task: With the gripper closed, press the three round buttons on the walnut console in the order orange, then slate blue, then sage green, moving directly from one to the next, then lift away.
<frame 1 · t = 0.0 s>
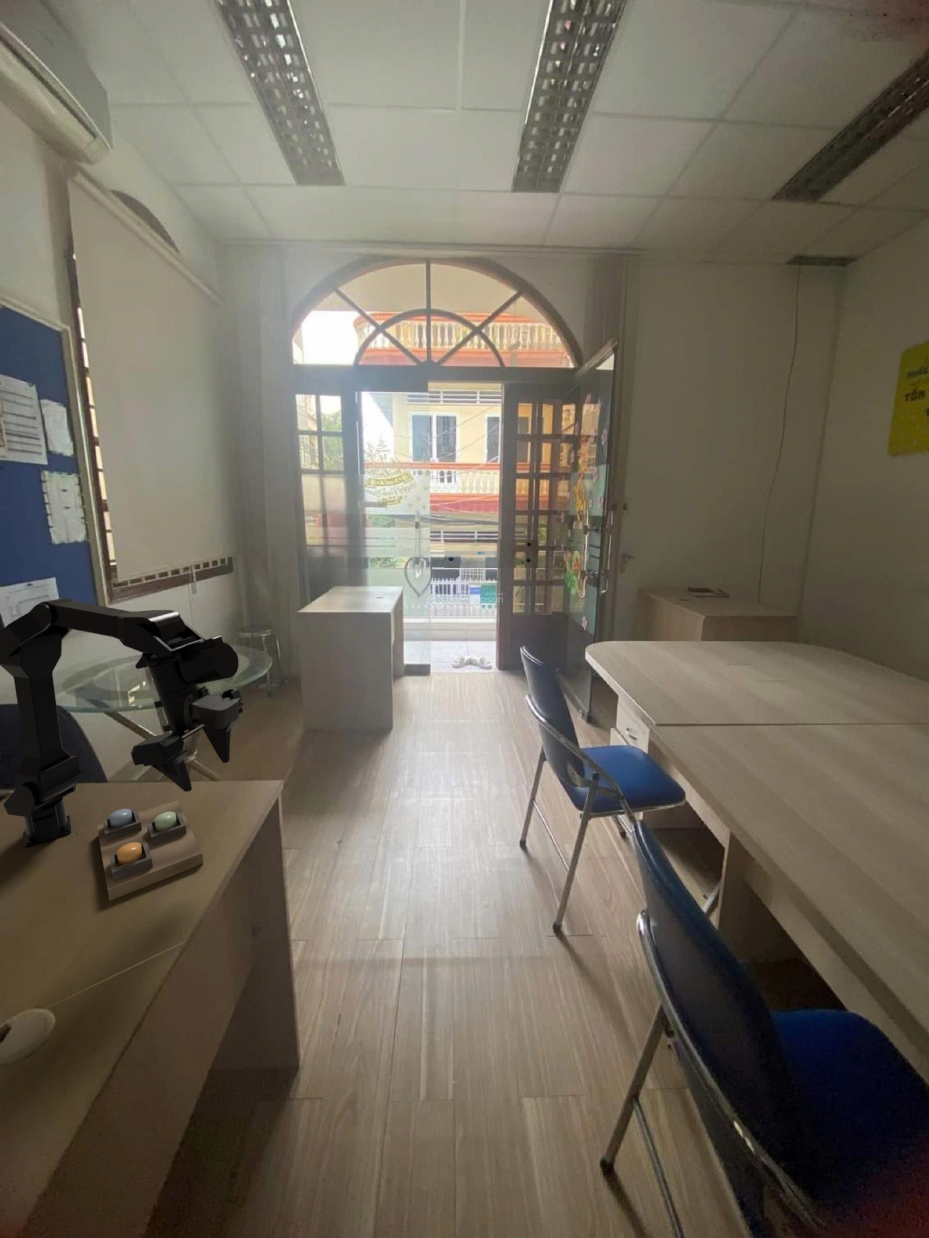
hand: (208, 775, 81), 15 cm above the table, tool pointing down, fingers open, 9 cm apart
slate blue button: (121, 817, 88), point 4 cm above the table, slide at 0.0 cm
orange button: (129, 853, 79), point 4 cm above the table, slide at 0.0 cm
sage button: (165, 821, 87), point 4 cm above the table, slide at 0.0 cm
console: (148, 848, 86), on the table
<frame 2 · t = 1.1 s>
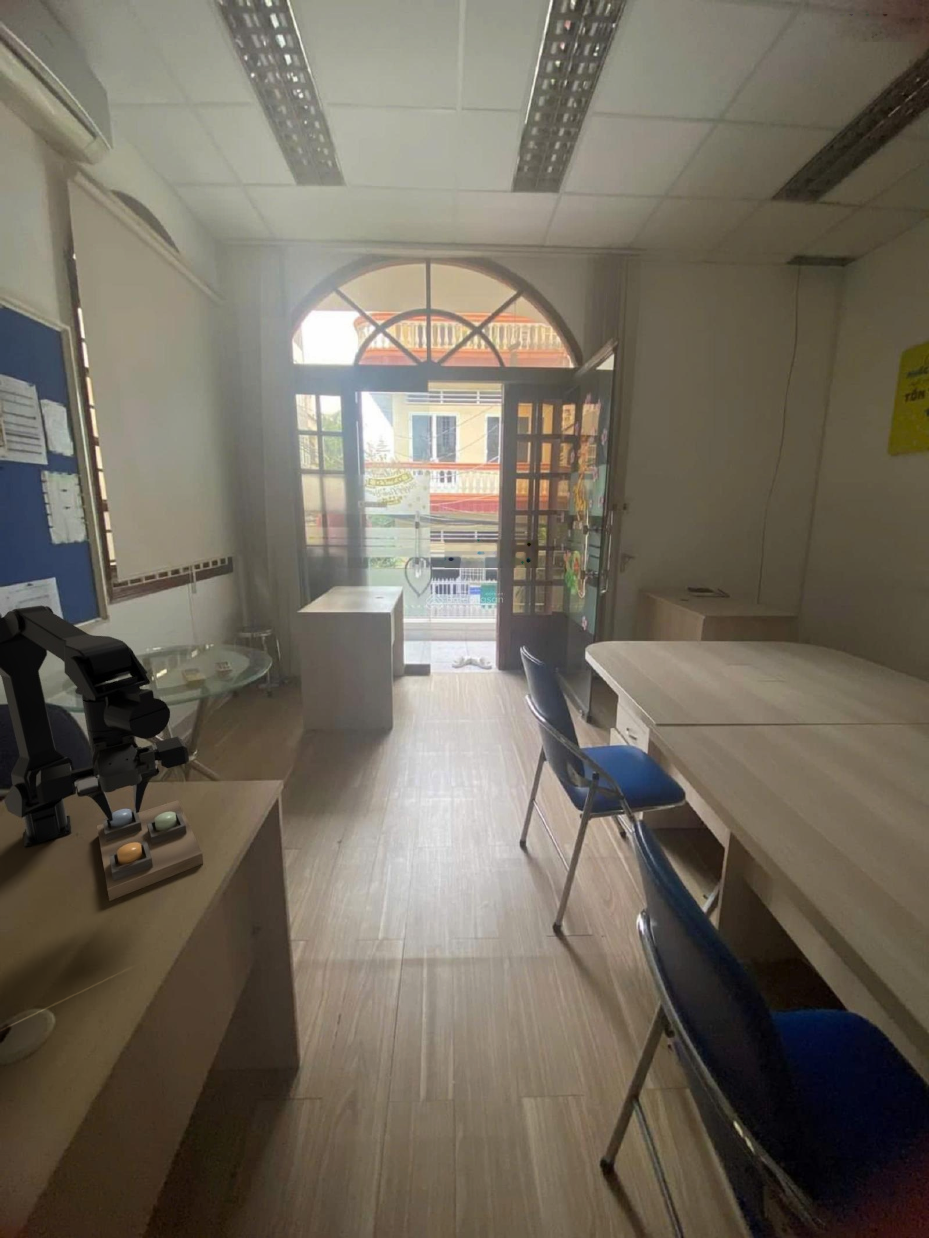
hand: (124, 815, 77), 11 cm above the table, tool pointing down, fingers open, 3 cm apart
nothing on the table moved.
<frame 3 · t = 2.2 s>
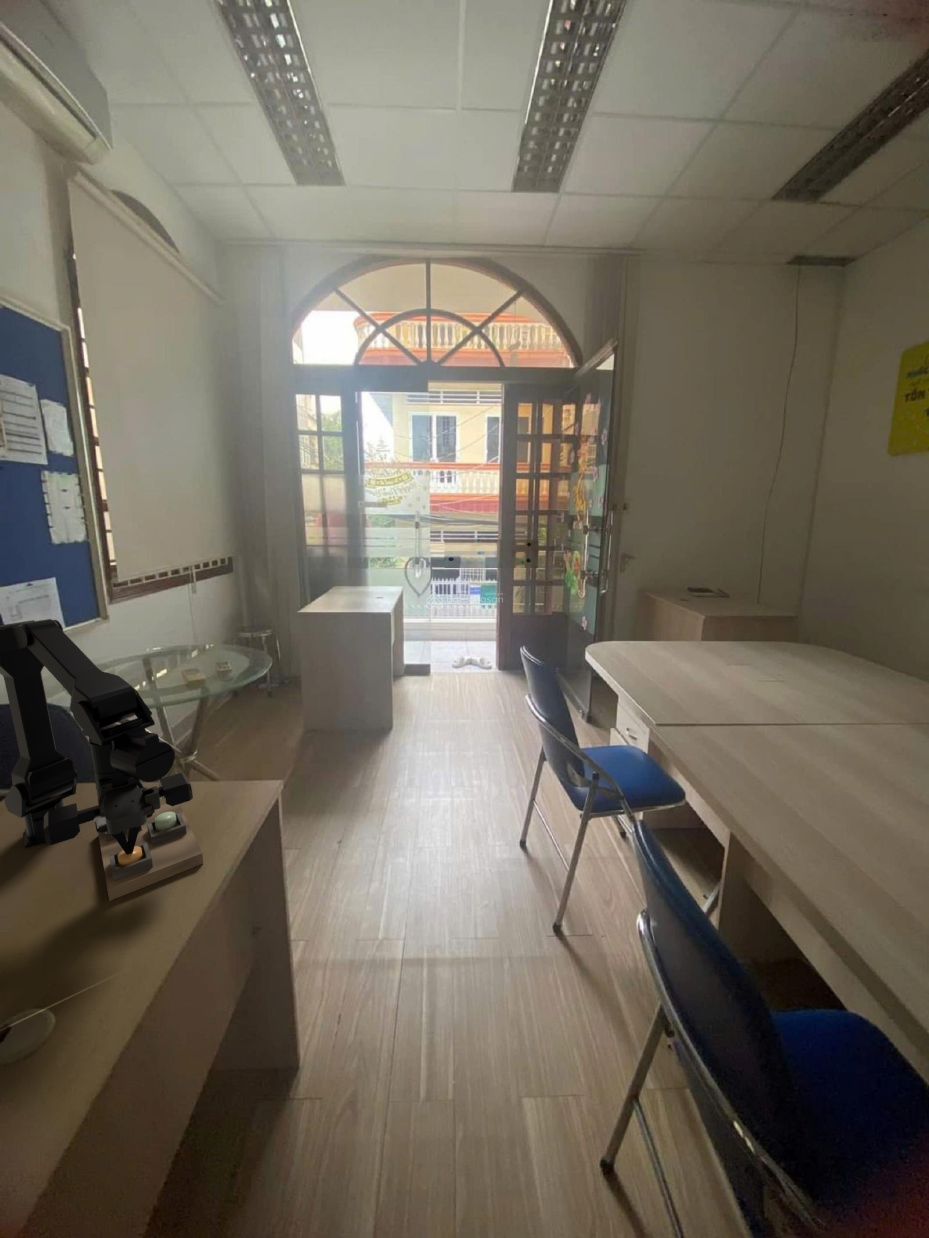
hand: (129, 852, 79), 4 cm above the table, tool pointing down, fingers closed, pressing on orange button
orange button: (130, 857, 79), point 3 cm above the table, slide at 0.7 cm, touching gripper
everything else where it was.
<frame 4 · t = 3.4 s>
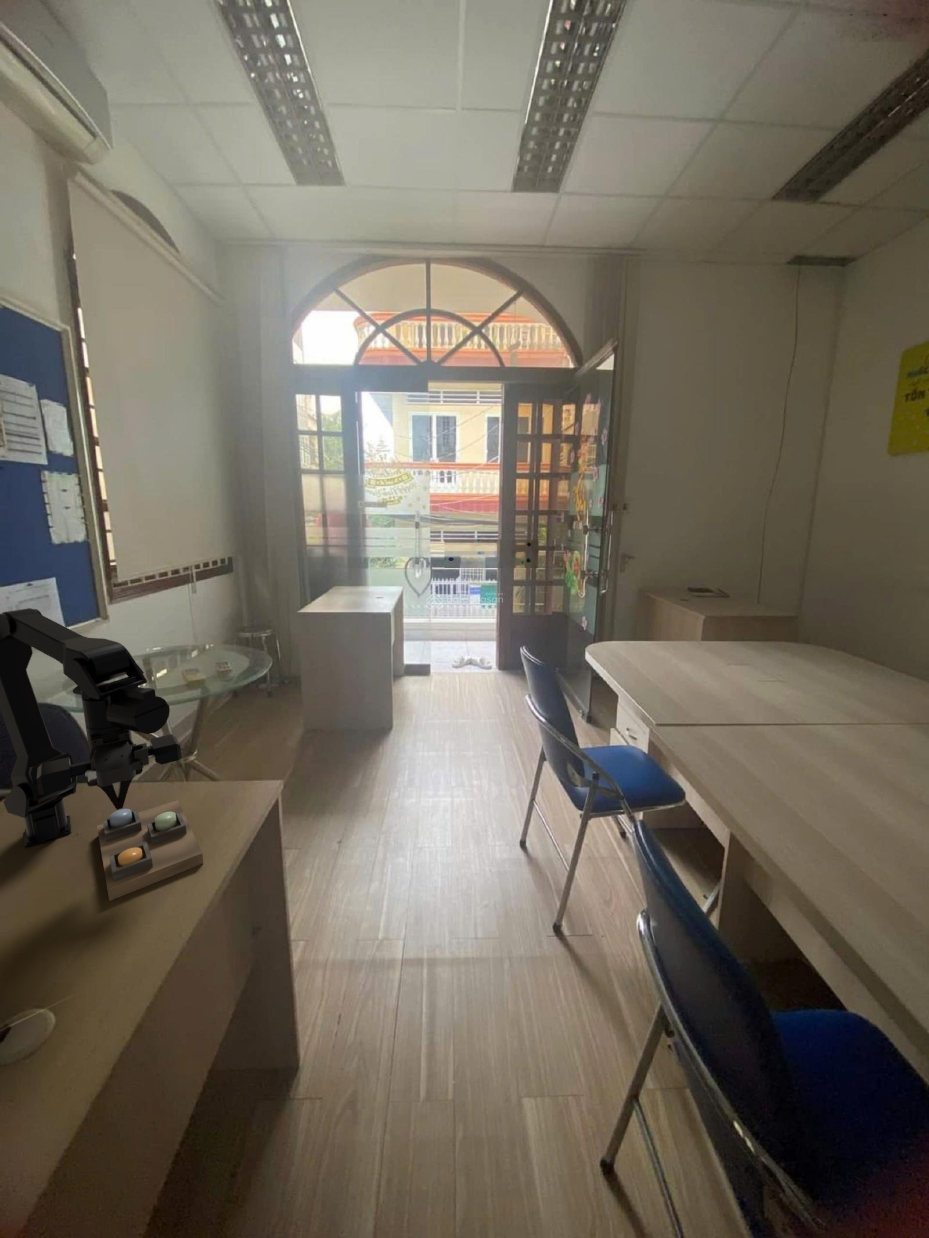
hand: (119, 808, 82), 10 cm above the table, tool pointing down, fingers closed
orange button: (130, 858, 79), point 3 cm above the table, slide at 0.9 cm
everything else where it was.
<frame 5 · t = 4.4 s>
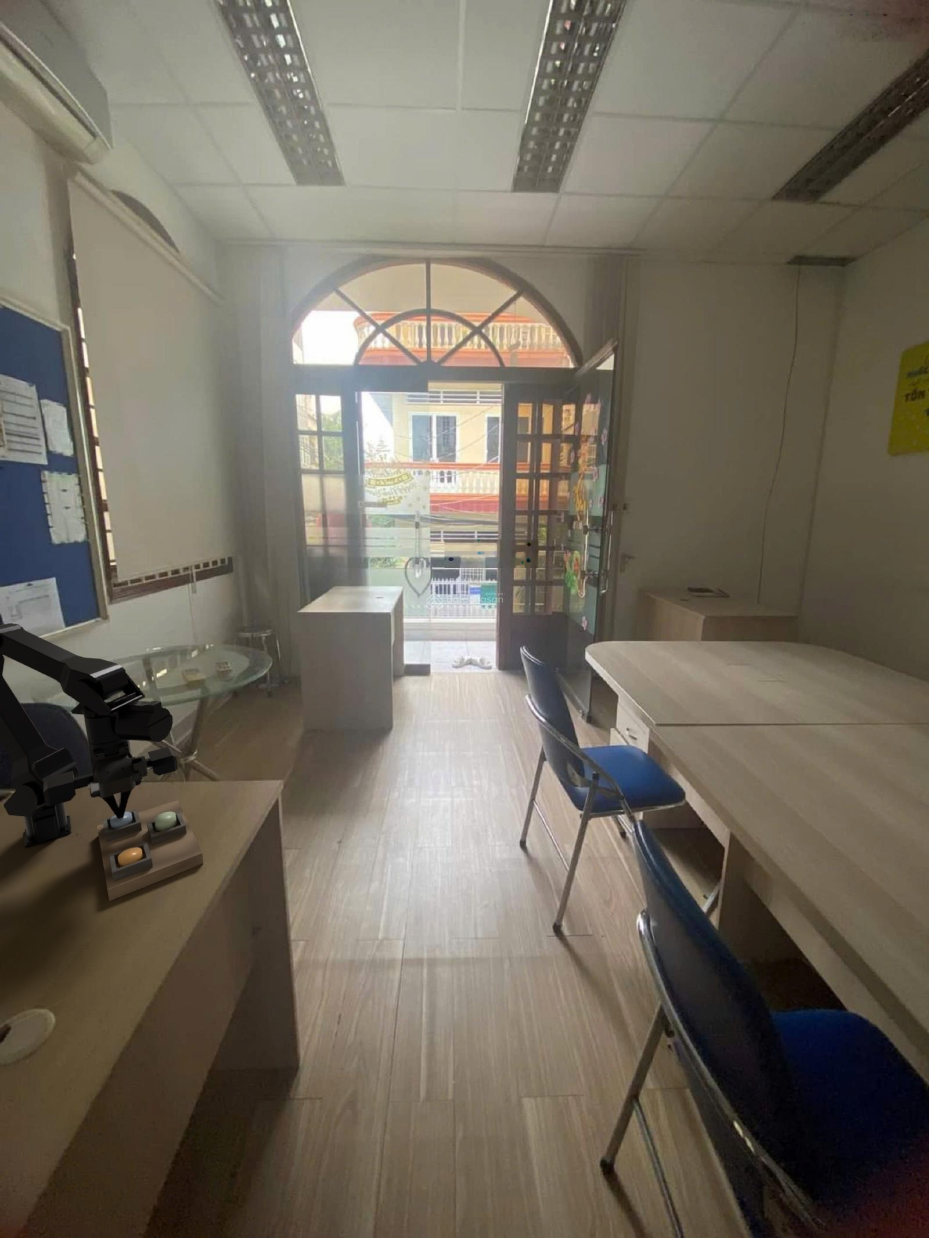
hand: (120, 817, 88), 4 cm above the table, tool pointing down, fingers closed, pressing on slate blue button
slate blue button: (121, 821, 88), point 4 cm above the table, slide at 0.6 cm, touching gripper
everything else where it was.
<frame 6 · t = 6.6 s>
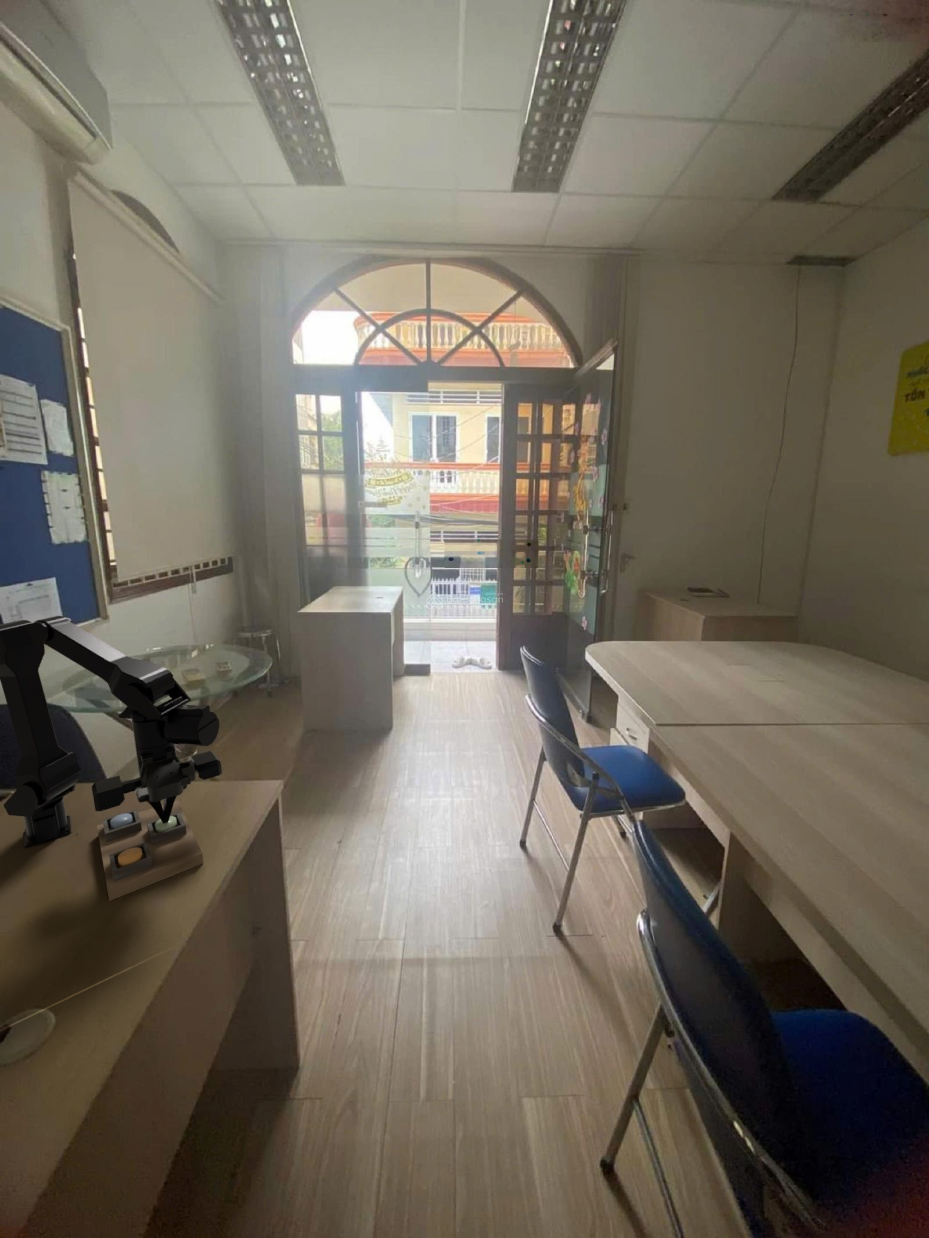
hand: (165, 821, 87), 4 cm above the table, tool pointing down, fingers closed, pressing on sage button
slate blue button: (121, 822, 88), point 3 cm above the table, slide at 1.0 cm
sage button: (166, 825, 87), point 3 cm above the table, slide at 0.9 cm, touching gripper
everything else where it was.
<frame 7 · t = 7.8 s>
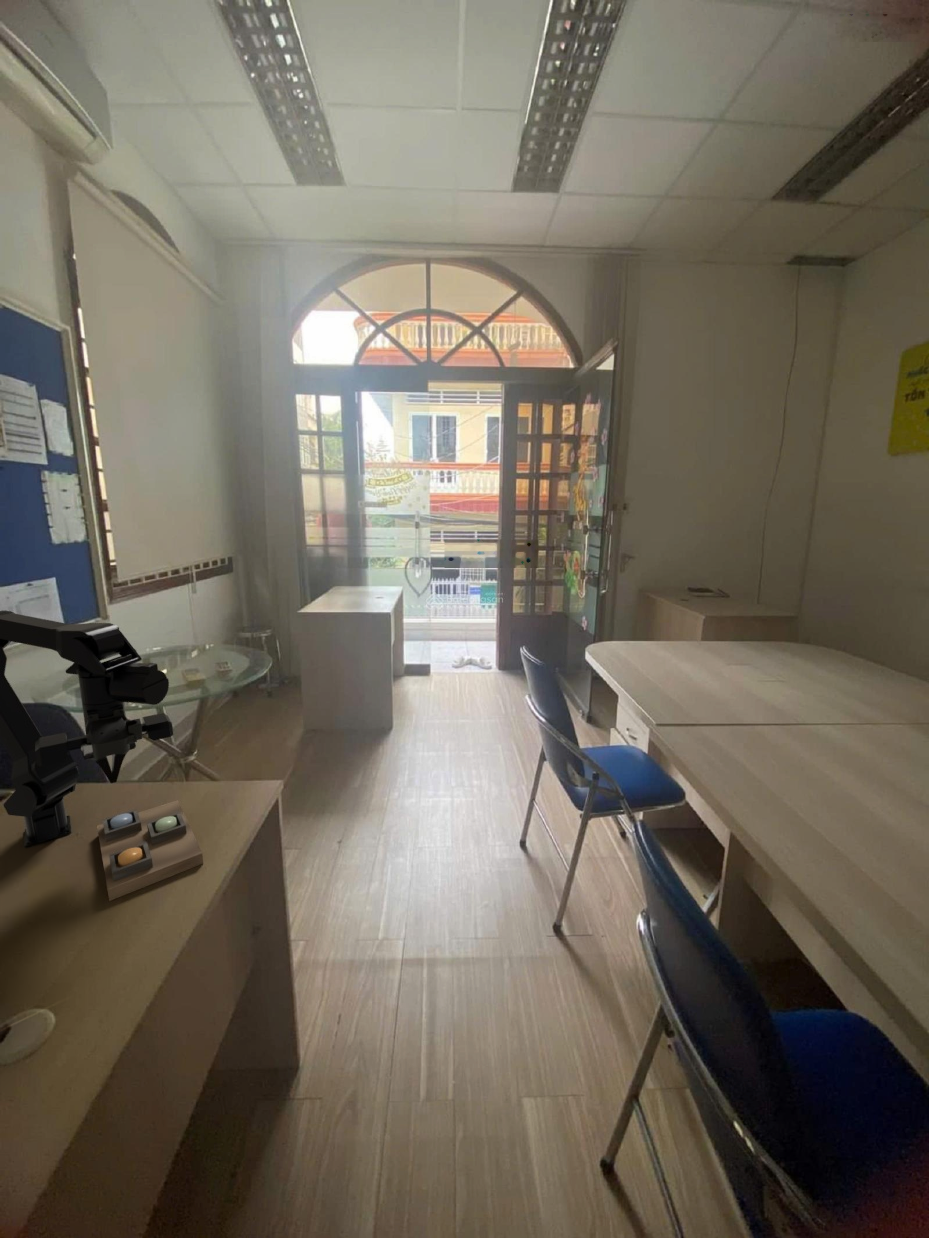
hand: (113, 781, 86), 11 cm above the table, tool pointing down, fingers closed
sage button: (166, 825, 87), point 3 cm above the table, slide at 0.9 cm
everything else where it was.
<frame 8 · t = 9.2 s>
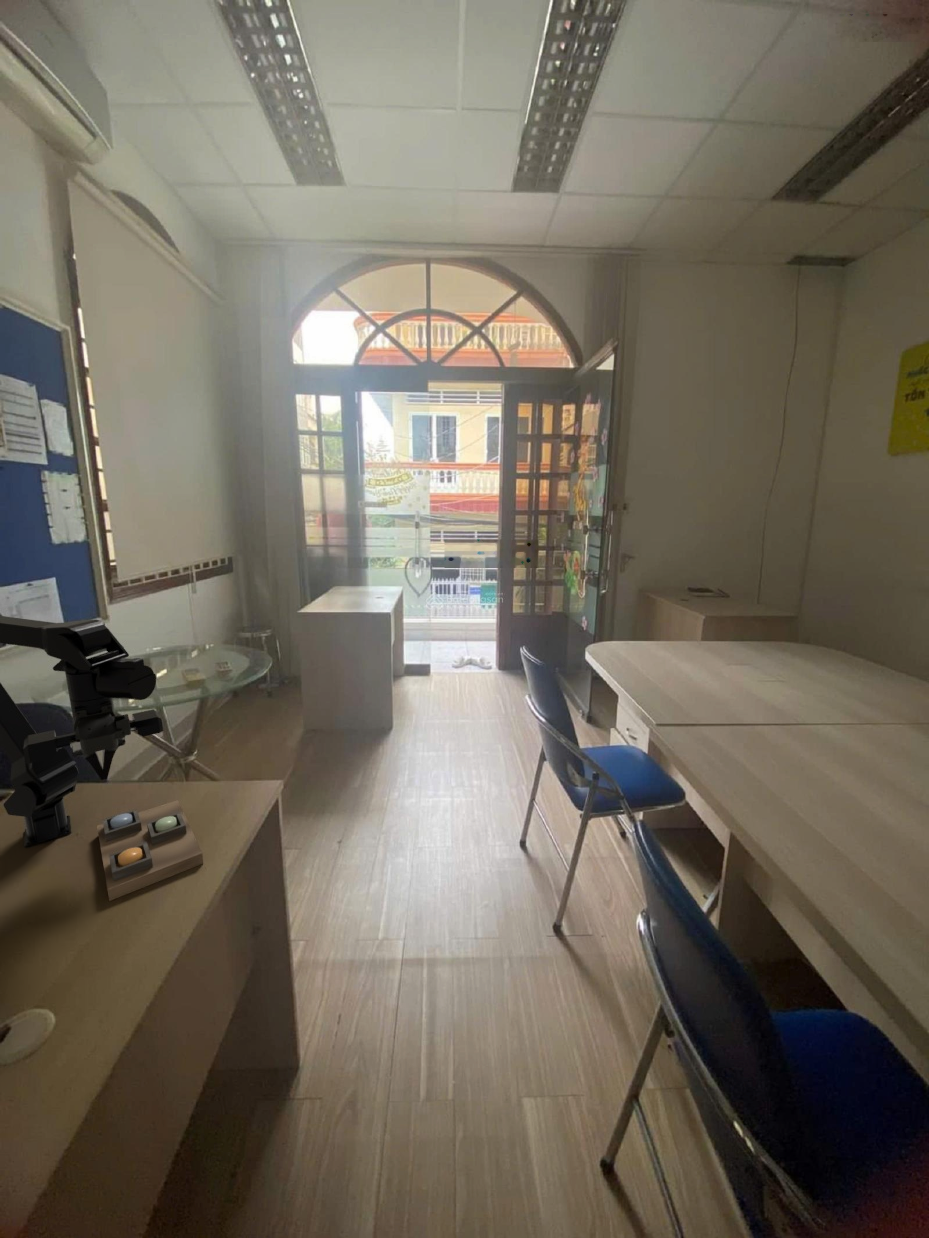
hand: (104, 779, 86), 12 cm above the table, tool pointing down, fingers closed
nothing on the table moved.
at the end: orange button slide at 0.9 cm; slate blue button slide at 1.0 cm; sage button slide at 0.9 cm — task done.
